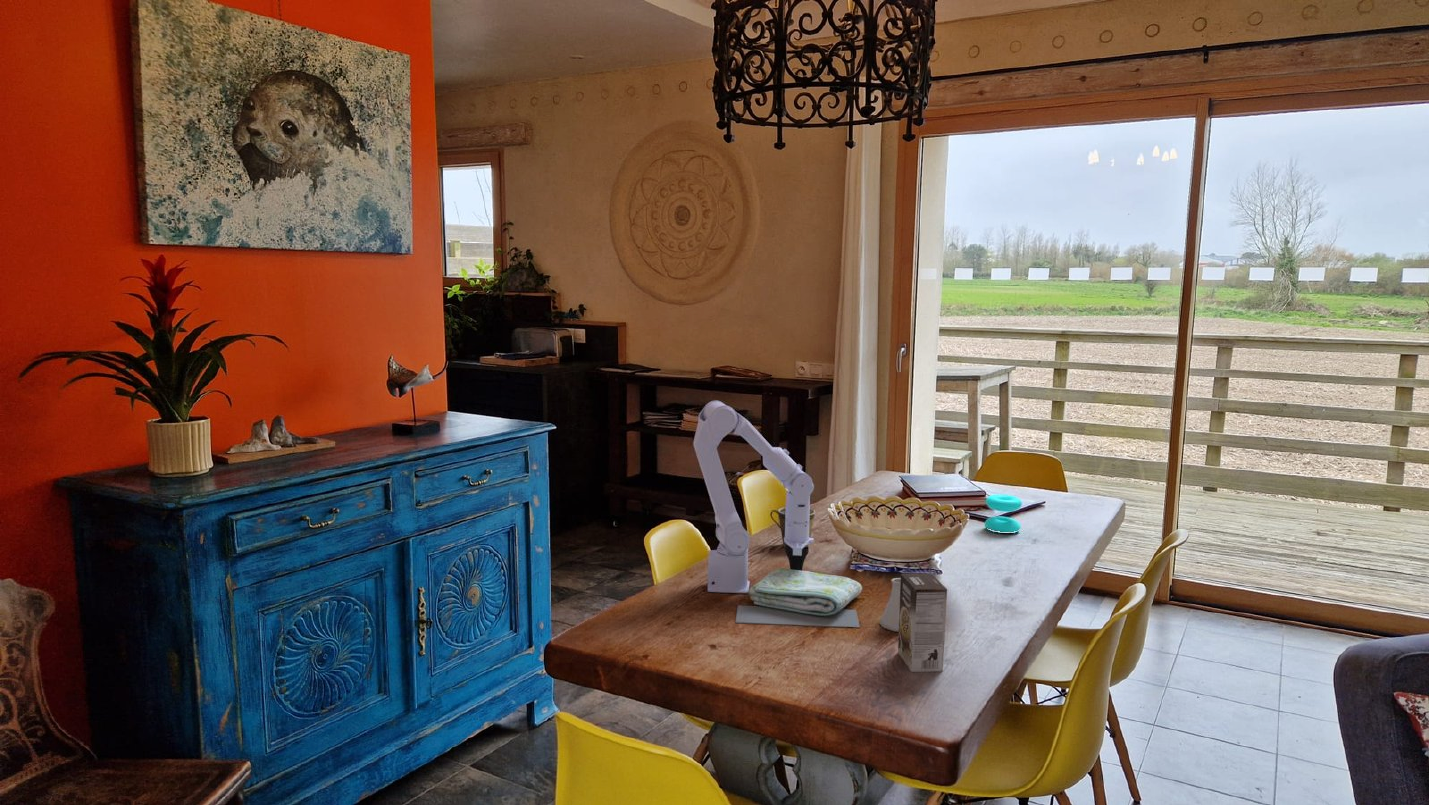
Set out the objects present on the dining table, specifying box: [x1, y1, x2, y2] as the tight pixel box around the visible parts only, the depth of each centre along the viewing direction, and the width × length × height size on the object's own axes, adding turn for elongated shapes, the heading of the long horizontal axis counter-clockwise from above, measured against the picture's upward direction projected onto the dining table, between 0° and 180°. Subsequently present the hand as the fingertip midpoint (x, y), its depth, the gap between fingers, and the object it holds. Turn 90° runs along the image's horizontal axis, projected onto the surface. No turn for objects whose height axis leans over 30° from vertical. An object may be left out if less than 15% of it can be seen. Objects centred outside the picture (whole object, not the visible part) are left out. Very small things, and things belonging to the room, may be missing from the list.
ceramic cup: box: [769, 506, 816, 548], centre depth 246 cm, size 13×10×10 cm
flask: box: [878, 577, 901, 632], centre depth 189 cm, size 7×7×10 cm
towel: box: [748, 567, 863, 616], centre depth 203 cm, size 18×21×5 cm
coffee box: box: [897, 572, 948, 673], centre depth 171 cm, size 9×6×16 cm
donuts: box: [984, 494, 1023, 532], centre depth 264 cm, size 10×10×10 cm
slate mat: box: [735, 604, 860, 629], centre depth 194 cm, size 26×10×1 cm, turn 86°
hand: (796, 576), depth 216 cm, fingers closed
